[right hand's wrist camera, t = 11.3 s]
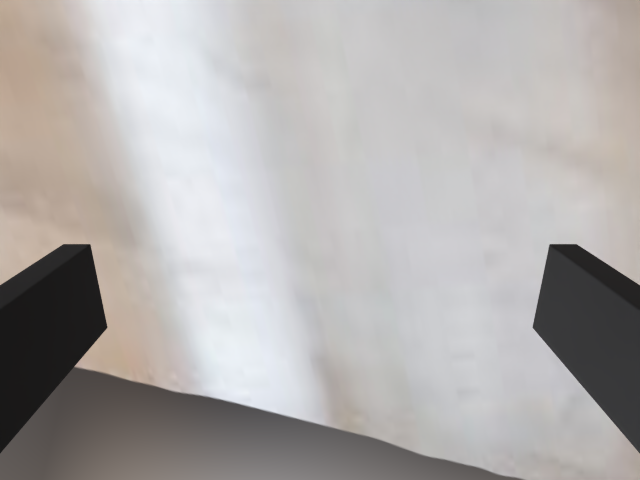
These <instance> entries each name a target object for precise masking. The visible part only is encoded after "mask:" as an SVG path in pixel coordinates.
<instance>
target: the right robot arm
mask: <svg viewBox="0 0 640 480" xmlns="http://www.w3.org/2000/svg"><path fill="white" fill-rule="evenodd" d="M106 329H107V323H106V319H105V314H104V309H103V304H102V299H101V294H100V289H99V284H98V280H97V275H96V270H95V265H94V260H93V255H92V250H91V245H90V244H63V245H62V246H60V247H59V248H57V249H56V250H54V251H52V252H51V253H49V254H48V255H46V256H45V257H43V258H42V259H40V260H39V261H37V262H36V263H34V264H32V265H31V266H29V267H28V268H26V269H25V270H23V271H22V272H20V273H19V274H17V275H15V276H14V277H12V278H11V279H9V280H8V281H6V282H5V283H3V284H2V285H0V453H1V452H2V450H3V449H4V448H5V447H6V446H7V445H8V444H9V442H10V441H11V440H12V439H13V438H14V436H15V435H16V434H17V433H18V432H19V431H20V429H21V428H22V427H23V426H24V425H25V424H26V422H27V421H28V420H29V419H30V418H31V416H32V415H33V414H34V413H35V412H36V411H37V410H38V408H39V407H40V406H41V405H42V404H43V402H44V401H45V400H46V399H47V398H48V397H49V395H50V394H51V393H52V392H53V391H54V390H55V388H56V387H57V386H58V385H59V384H60V383H61V381H62V380H63V379H64V378H65V377H66V375H67V374H68V373H69V372H70V371H71V370H72V368H73V367H74V366H75V365H76V364H77V363H78V361H79V360H80V359H81V358H82V357H83V356H84V354H85V353H86V352H87V351H88V350H89V348H90V347H91V346H92V345H93V344H94V343H95V341H96V340H97V339H98V338H99V337H100V336H101V334H102V333H103V332H104V331H105V330H106ZM533 329H534V330H535V331H536V332H537V333H538V334H539V336H540V337H541V338H542V339H543V340H544V341H545V343H546V344H547V345H548V346H549V347H550V349H551V350H552V351H553V352H554V353H555V354H556V356H557V357H558V358H559V359H560V360H561V361H562V363H563V364H564V365H565V366H566V367H567V368H568V370H569V371H570V372H571V373H572V374H573V375H574V377H575V378H576V379H577V380H578V381H579V383H580V384H581V385H582V386H583V387H584V388H585V390H586V391H587V392H588V393H589V394H590V395H591V397H592V398H593V399H594V400H595V401H596V402H597V404H598V405H599V406H600V407H601V408H602V410H603V411H604V412H605V413H606V414H607V415H608V417H609V418H610V419H611V420H612V421H613V422H614V424H615V425H616V426H617V427H618V428H619V429H620V431H621V432H622V433H623V434H624V435H625V436H626V438H627V439H628V440H629V441H630V442H631V444H632V445H633V446H634V447H635V448H636V449H637V451H638V452H639V453H640V285H638V284H637V283H635V282H634V281H632V280H631V279H629V278H628V277H626V276H625V275H623V274H621V273H620V272H618V271H617V270H615V269H614V268H612V267H611V266H609V265H608V264H606V263H604V262H603V261H601V260H600V259H598V258H597V257H595V256H594V255H592V254H591V253H589V252H588V251H586V250H584V249H583V248H581V247H580V246H578V245H577V244H550V245H549V250H548V255H547V260H546V265H545V270H544V275H543V280H542V284H541V289H540V294H539V299H538V304H537V309H536V314H535V319H534V323H533Z"/></svg>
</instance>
